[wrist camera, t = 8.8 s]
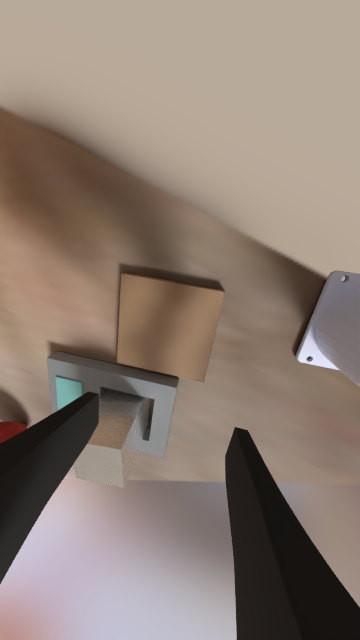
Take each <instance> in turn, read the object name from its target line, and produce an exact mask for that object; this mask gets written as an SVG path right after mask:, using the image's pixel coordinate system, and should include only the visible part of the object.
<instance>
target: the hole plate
mask: <svg viewBox="0 0 360 640" xmlns="http://www.w3.org/2000/svg"><path fill="white" fill-rule="evenodd" d="M47 364H48V374H49V385H50V395H51V406H52V414H53V413H55V412H56V411H58V410H59V409H61V408H63V407H64V406H66V405H67V404H69V403H71V402H72V401H74V400H75V399H77V398H78V397H80V396H82V395H83V394H85V393H86V392H88V391H89V392H93V393H97V394H99V401H100V399H101V398H102V397H103V395H104V394H105V393H106V392H107V388H109V389H113V390H118V391H122V392H126V393H130V394H134V395H138V396H142V397H147V398H151V399H155V402H154V409H153V416H152V423H151V429H147V428H146V431H145V433H144V436H143V439H142V441H141V444H140V447H139V449H138V451H140V452H143V453H147V454H151V455H154V456H158V457H162V458H164V456H165V451H166V447H167V442H168V436H169V431H170V425H171V420H172V414H173V409H174V403H175V398H176V392H177V387H178V381H179V379H177V378H173V377H168V376H164V375H160V374H155V373H151V372H146V371H142V370H138V369H133V368H129V367H124V366H120V365H116V364H111V363H107V362H102V361H98V360H94V359H89V358H85V357H80V356H76V355H72V354H67V353H63V352H56V353H54V354H53V355H51V356H49V357H48V358H47Z"/></svg>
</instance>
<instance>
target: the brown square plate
mask: <svg viewBox="0 0 360 640" xmlns="http://www.w3.org/2000/svg"><path fill="white" fill-rule="evenodd" d="M224 295H225V291H224V290H220V289H215V288H209V287H203V286H198V285H192V284H187V283H181V282H175V281H170V280H164V279H159V278H153V277H147V276H142V275H136V274H131V273H121V288H120V309H119V330H118V350H117V363H121V364H125V365H130V366H134V367H138V368H143V369H147V370H152V371H156V372H161V373H165V374H169V375H174V376H178V377H183V378H187V379H191V380H196V381H200V382H204V379H205V375H206V371H207V367H208V363H209V358H210V354H211V350H212V346H213V341H214V337H215V333H216V329H217V325H218V320H219V316H220V312H221V308H222V303H223V299H224Z"/></svg>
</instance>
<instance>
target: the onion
mask: <svg viewBox="0 0 360 640" xmlns="http://www.w3.org/2000/svg"><path fill="white" fill-rule="evenodd" d="M26 429H27V426H26V424H24V423H18V422H9V421H7V422H0V443H2V442H4V441H6V440H8V439H10V438H12V437H13V436H15V435H17V434H19V433H21V432H22V431H24V430H26Z"/></svg>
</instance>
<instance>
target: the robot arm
mask: <svg viewBox="0 0 360 640" xmlns="http://www.w3.org/2000/svg"><path fill="white" fill-rule="evenodd" d="M343 276H345V280H344V281H343V282H342V281H341V278H342V277H343ZM309 356H311V357H310V359H306V358H307V357H309ZM296 358H297V360H298V361H299V362H302V363H307V364H312V365H317V366H321V367H326V368H331V369H336V370H340V371H342V372H343V373H344V374H345V375H346V376H347V377H349V378H350V379H351V380H352V381H353V382H354V383H356V384H357V385H358V386H359V387H360V274H356V273H349V272H343V271H334V272H332V273H330V274H329V276H328V278H327V281H326V283H325V286H324V288H323V291H322V293H321V295H320V298H319V300H318V303H317V305H316V308H315V310H314V312H313V315H312V317H311V320H310V322H309V325H308V327H307V330H306V332H305V334H304V337H303V339H302V342H301V344H300V347H299V349H298V351H297V354H296ZM98 423H99V394H97V393H93V392H89V391H88V392H86V393H85V394H83V395H82V396H80V397H78V398H77V399H75V400H74V401H72V402H71V403H69V404H67V405H66V406H64V407H63V408H61V409H59V410H58V411H56V412H55V413H53V414H51V415H50V416H48V417H46V418H45V419H43V420H42V421H40V422H38V423H36V424H35V425H33V426H31V427H29V428H28V429H26V430H24V431H22V432H21V433H19V434H17V435H15V436H13V437H12V438H10V439H8V440H6V441H4V442H2V443H0V584H1V582H2V580H3V578H4V576H5V575H6V573H7V571H8V569H9V567H10V566H11V564H12V562H13V560H14V559H15V557H16V555H17V553H18V552H19V550H20V548H21V546H22V545H23V543H24V541H25V539H26V538H27V536H28V534H29V532H30V531H31V529H32V527H33V525H34V524H35V522H36V521H37V519H38V517H39V515H40V514H41V512H42V510H43V509H44V507H45V505H46V504H47V502H48V501H49V499H50V498H51V496H52V494H53V493H54V492H55V490H56V489H57V487H58V486H59V484H60V483H61V481H62V480H63V479H64V477H65V476H66V474H67V473H68V471H69V470H70V468H71V467H72V465H73V464H74V463H75V461H76V460H77V458H78V457H79V455H80V454H81V452H82V451H83V449H84V448H85V446H86V445H87V443H88V442H89V440H90V438H91V436H92V435H93V433H94V431H95V429H96V427H97V425H98ZM225 471H226V489H227V499H228V508H229V517H230V526H231V536H232V545H233V556H234V572H235V593H236V594H235V595H236V623H237V624H236V625H237V640H360V607H359V606H358V605H357V603H356V602H355V601H354V599H353V598H352V597H351V595H350V594H349V593H348V591H347V590H346V589H345V587H344V586H343V585H342V583H341V582H340V581H339V579H338V578H337V577H336V575H335V574H334V572H333V571H332V570H331V568H330V567H329V565H328V564H327V562H326V561H325V560H324V558H323V557H322V555H321V554H320V553H319V551H318V549H317V548H316V546H315V545H314V544H313V542H312V541H311V539H310V538H309V536H308V535H307V533H306V532H305V530H304V528H303V527H302V526H301V524H300V522H299V521H298V519H297V518H296V516H295V514H294V513H293V511H292V510H291V508H290V506H289V505H288V503H287V501H286V500H285V498H284V497H283V495H282V493H281V491H280V490H279V488H278V486H277V484H276V483H275V481H274V479H273V477H272V475H271V474H270V472H269V470H268V468H267V466H266V465H265V463H264V461H263V459H262V457H261V455H260V453H259V451H258V449H257V447H256V445H255V443H254V441H253V440H252V438H251V436H250V434H249V432H248V430H244V429H240V428H236V427H235V429H234V432H233V435H232V438H231V441H230V444H229V447H228V450H227V453H226V456H225Z"/></svg>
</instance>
